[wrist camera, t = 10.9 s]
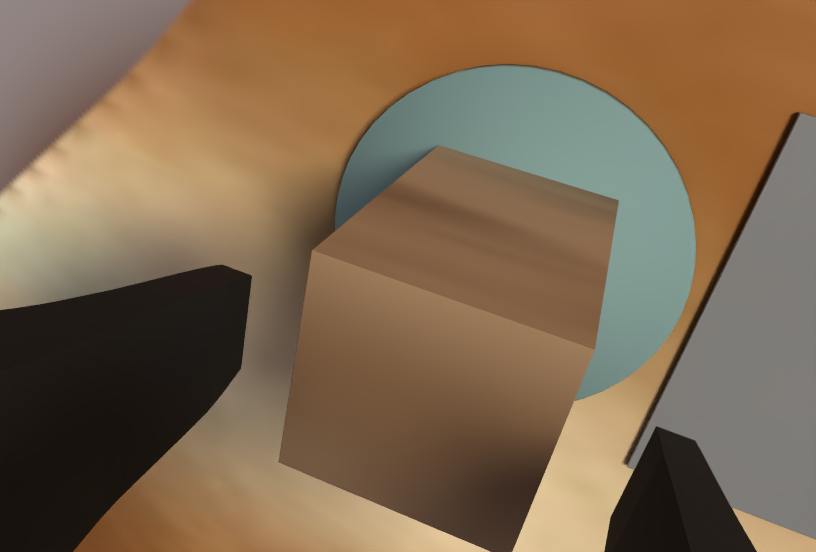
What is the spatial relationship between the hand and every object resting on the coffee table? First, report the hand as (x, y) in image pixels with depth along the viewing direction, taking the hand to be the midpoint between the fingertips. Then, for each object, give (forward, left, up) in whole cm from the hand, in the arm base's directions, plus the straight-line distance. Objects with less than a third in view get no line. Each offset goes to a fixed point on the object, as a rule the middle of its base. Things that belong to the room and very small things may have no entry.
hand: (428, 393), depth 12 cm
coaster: (0, 0, -7) cm, 7 cm away
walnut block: (0, 0, -6) cm, 6 cm away
